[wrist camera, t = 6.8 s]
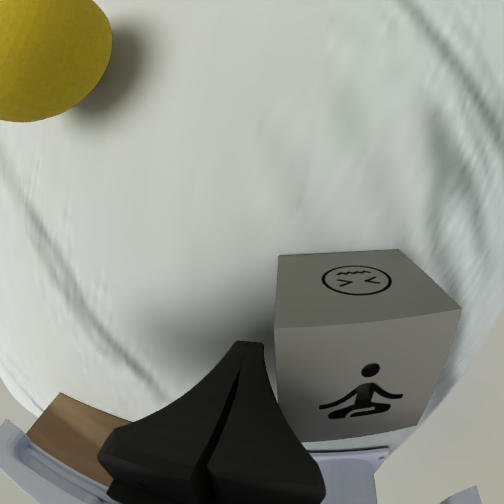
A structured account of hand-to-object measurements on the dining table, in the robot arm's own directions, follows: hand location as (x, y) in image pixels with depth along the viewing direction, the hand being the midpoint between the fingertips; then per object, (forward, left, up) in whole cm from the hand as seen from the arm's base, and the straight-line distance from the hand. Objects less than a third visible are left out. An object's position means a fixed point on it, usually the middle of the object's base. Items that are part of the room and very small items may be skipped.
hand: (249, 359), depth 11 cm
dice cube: (+2, -4, -2) cm, 4 cm away
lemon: (+13, +8, -2) cm, 15 cm away
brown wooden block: (-11, +11, -1) cm, 15 cm away
